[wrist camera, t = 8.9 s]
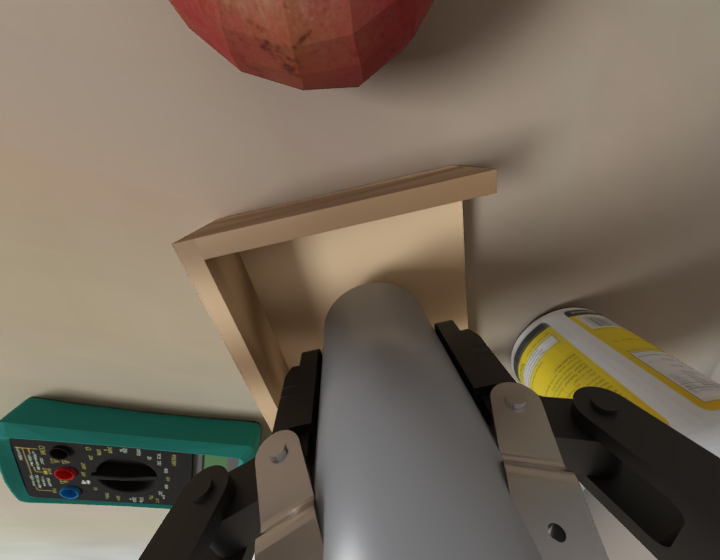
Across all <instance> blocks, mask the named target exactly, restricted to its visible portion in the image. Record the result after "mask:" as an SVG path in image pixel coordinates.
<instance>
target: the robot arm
mask: <svg viewBox="0 0 720 560" xmlns="http://www.w3.org/2000/svg"><path fill="white" fill-rule="evenodd" d="M434 330H435V332H436V334H437V336H438V337H439V339H440V341H441V343H442V344H443V346H444V348H445V350H446V352H447V353H448V355H449V357H450V359H451V361H452V362H453V364H454V366H455V368H456V370H457V371H458V373H459V375H460V377H461V378H462V380H463V382H464V384H465V386H466V387H467V389H468V391H469V393H470V395H471V396H472V398H473V400H474V402H475V403H476V405H477V407H478V409H479V411H480V412H481V414H482V416H483V418H484V420H485V421H486V423H487V425H488V427H489V428H490V430H491V432H492V434H493V436H494V437H495V439H496V442H497V445H498V448H499V451H500V453H501V455H502V458H503V461H502V463H503V467H504V471H505V475H506V479H507V484H508V488H509V492H510V496H511V498H512V500H513V502H514V504H515V506H516V508H517V510H518V512H519V514H520V516H521V518H522V520H523V522H524V524H525V526H526V528H527V530H528V531H529V533H530V535H531V537H532V539H533V541H534V543H535V545H536V547H537V549H538V551H539V553H540V555H541V557H542V559H543V560H609V559H608V556H607V553H606V551H605V548H604V545H603V543H602V540H601V538H600V535H599V532H598V530H597V527H596V525H595V522H594V520H593V517H592V514H591V512H590V509H589V506H588V504H587V501H586V498H585V496H584V493H583V491H582V488H581V485H580V483H581V484H582V485H583V486H584V487H585V488H586V489H587V490H588V491H589V492H590V493H591V494H592V495H593V496H594V497H595V498H596V499H597V500H598V501H599V502H600V503H601V504H603V506H604V507H606V509H608V511H609V512H610V513H612V514H613V515H614V516H615V517H616V518H617V519H618V520H619V521H620V522H621V523H622V524H623V525H624V526H625V527H626V528H627V529H628V530H629V531H630V532H631V533H632V534H633V535H634V536H635V537H636V538H637V539H638V540H639V541H640V542H641V543H642V544H643V545H644V546H645V547H646V548H647V549H648V550H649V551H650V552H651V553H652V554H653V555H654V556H655V557H656V558H657V559H658V560H720V458H719V457H718V456H716V455H714V454H713V453H711V452H710V451H708V450H707V449H705V448H703V447H702V446H700V445H699V444H697V443H695V442H694V441H692V440H691V439H689V438H688V437H686V436H684V435H683V434H681V433H680V432H678V431H676V430H675V429H673V428H672V427H670V426H669V425H667V424H665V423H664V422H662V421H661V420H659V419H657V418H656V417H654V416H653V415H651V414H650V413H648V412H646V411H645V410H643V409H642V408H640V407H638V406H637V405H635V404H634V403H632V402H631V401H629V400H627V399H626V398H624V397H623V396H621V395H619V394H617V393H615V392H613V391H611V390H608V389H604V388H601V387H593V386H588V387H582V388H579V389H578V390H576V391H575V392H574V394H573V399H570V398H555V397H544V396H540V395H537V394H536V393H535V392H534V391H533V390H532V389H530V388H528V387H527V386H524V385H522V384H519V383H516V381H515V380H514V379H513V378H512V376H511V375H510V374H509V373H508V371H507V370H506V369H505V368H504V366H503V365H502V364H501V363H500V361H499V360H498V359H497V357H496V356H495V355H494V354H493V353H492V351H491V350H490V349H489V347H488V346H486V344H485V342H484V341H483V340H482V338H481V337H480V336H479V335H478V334H476V333H474V332H473V331H471V330H469V329H465V330H460V329H459V328H458V327H457V325H456V324H455V322H454V321H453V320H448V321H444V322H439V323H435V324H434ZM321 367H322V352H321V350H320V349H315V350H311V351H306V352H302V354H301V360H300V365H299V366H295V367H292V368H291V369H290V371H289V372H288V374H287V375H286V377H285V380H284V384H283V390H282V393H281V399H280V401H279V406H278V410H277V414H276V418H275V423H274V427H273V431H272V435H271V436H269V437H268V438H267V439H266V440H265V441H264V442H263V443H262V444H261V446H260V447H259V449H258V451H257V454H256V456H255V457H254V458H253V459H251V460H250V461H248V462H246V463H244V464H242V465H240V466H238V467H237V468H235V469H233V470H231V471H229V472H228V471H227V470H226V468H225V467H223V466H221V465H213V466H210V467H207V468H205V469H203V470H202V471H200V472H199V473H198V474H196V475H195V476H194V477H193V478H192V479H191V480H190V481H189V482H188V484H187V485H186V486H185V488H184V489H183V491H182V492H181V494H180V495H179V497H178V498H177V500H176V502H175V503H174V505H173V506H172V508H171V509H170V511H169V513H168V514H167V516H166V517H165V519H164V520H163V522H162V524H161V525H160V527H159V528H158V530H157V531H156V533H155V534H154V536H153V538H152V539H151V541H150V542H149V544H148V545H147V547H146V549H145V550H144V552H143V553H142V555H141V556H140V558H139V560H252V558H253V555H254V552H255V560H323V547H324V545H323V540H322V535H321V530H320V525H319V520H318V515H317V509H316V504H315V498H314V490H313V480H314V466H315V451H316V437H317V423H318V409H319V395H320V381H321ZM579 482H580V483H579Z"/></svg>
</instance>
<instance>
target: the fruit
mask: <svg viewBox="0 0 720 560" xmlns="http://www.w3.org/2000/svg"><path fill="white" fill-rule="evenodd" d="M169 1H170V2H171V4H172V5H173V7H174V8H175V9H176V11H177V12H178V13H179V15H180V16H181V18H182V19H183V20H184V22H185V23H186V24H187V26H188V27H189V28H190V29H191V30H192V31H194V32H195V33H196V34H197V35H198V36H200V37H201V38H202V39H203V40H204V41H205V42H207V43H208V44H209V45H210V46H211V47H213V48H214V49H215V50H216V51H217V52H219V53H220V54H221V55H222V56H223V57H225V58H226V59H227V60H228V61H229V62H231V63H232V64H233V65H234V66H235V67H237V68H238V69H239V70H240V71H242V72H245V73H248V74H251V75H255V76H258V77H261V78H265V79H268V80H271V81H275V82H278V83H281V84H284V85H288V86H291V87H294V88H298V89H301V90H313V89H330V88H347V87H359V86H360V85H361V84H362V83H363V82H365V81H366V80H367V79H368V78H369V77H371V76H372V75H373V74H374V73H375V72H377V71H378V70H379V69H380V68H381V67H383V66H384V65H385V64H386V63H387V62H389V61H390V60H391V59H392V58H393V57H395V56H396V55H397V54H398V53H399V52H401V51H402V50H403V49H404V48H405V47H406V45H407V44H408V43H409V42H410V40H411V39H412V38H413V36H414V35H415V33H416V31H417V29H418V27H419V26H420V24H421V22H422V20H423V19H424V17H425V15H426V13H427V12H428V10H429V8H430V6H431V5H432V3H433V1H434V0H169Z"/></svg>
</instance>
